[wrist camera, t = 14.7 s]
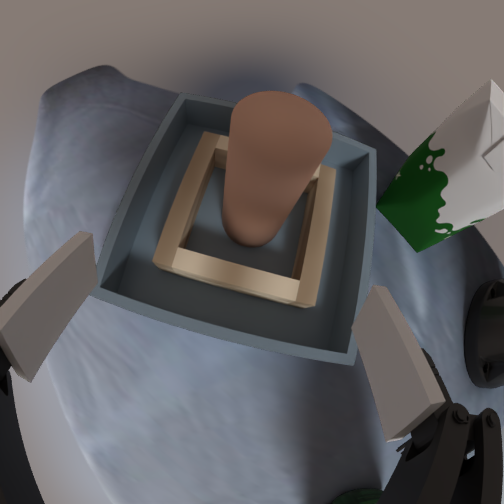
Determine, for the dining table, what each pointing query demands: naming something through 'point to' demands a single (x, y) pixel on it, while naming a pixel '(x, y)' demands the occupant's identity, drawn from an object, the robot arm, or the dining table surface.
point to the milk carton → (451, 174)
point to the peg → (270, 162)
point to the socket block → (235, 275)
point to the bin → (240, 247)
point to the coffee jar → (359, 497)
